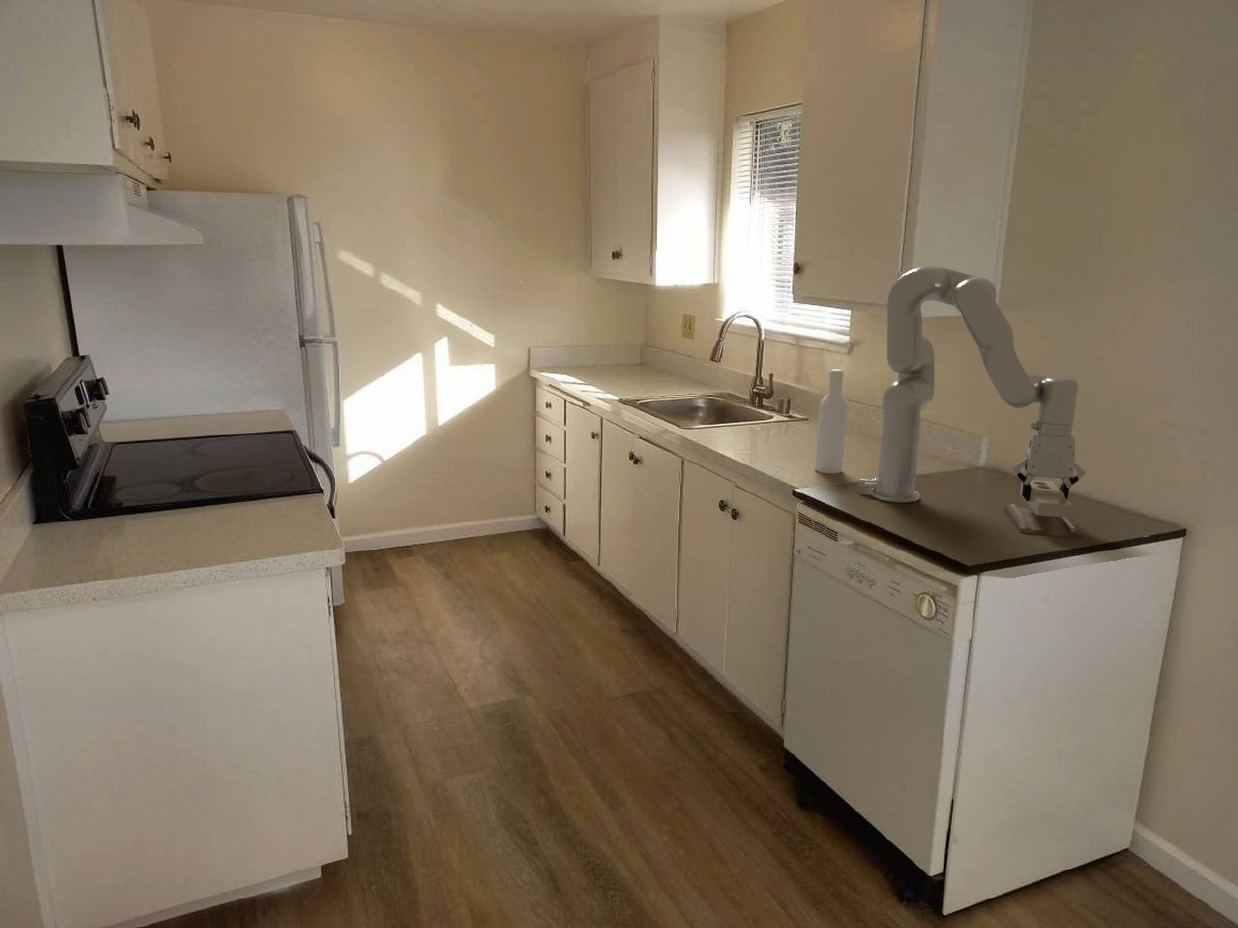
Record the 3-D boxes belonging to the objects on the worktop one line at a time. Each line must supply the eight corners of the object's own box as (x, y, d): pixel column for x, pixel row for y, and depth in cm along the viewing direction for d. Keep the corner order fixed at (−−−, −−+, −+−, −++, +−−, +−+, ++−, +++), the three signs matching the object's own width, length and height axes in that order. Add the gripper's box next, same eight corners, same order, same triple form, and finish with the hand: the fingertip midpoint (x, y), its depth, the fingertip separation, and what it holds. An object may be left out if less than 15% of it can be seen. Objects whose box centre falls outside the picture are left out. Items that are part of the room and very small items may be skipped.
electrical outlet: (1039, 498, 200) (1022, 478, 217) (1037, 515, 201) (1019, 494, 218) (1073, 500, 198) (1052, 481, 215) (1070, 517, 199) (1050, 496, 216)
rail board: (1019, 532, 203) (1020, 524, 203) (1004, 510, 220) (1005, 502, 220) (1079, 537, 200) (1080, 529, 200) (1059, 514, 217) (1060, 507, 217)
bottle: (816, 466, 261) (824, 367, 253) (843, 468, 258) (852, 369, 250) (813, 472, 253) (821, 370, 246) (840, 475, 251) (849, 372, 243)
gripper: (1018, 430, 203) (1008, 502, 207) (1098, 434, 199) (1087, 508, 203) (1011, 424, 210) (1002, 494, 214) (1089, 428, 206) (1078, 499, 211)
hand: (1043, 500), depth 209 cm, fingers closed on electrical outlet, 7 cm apart
